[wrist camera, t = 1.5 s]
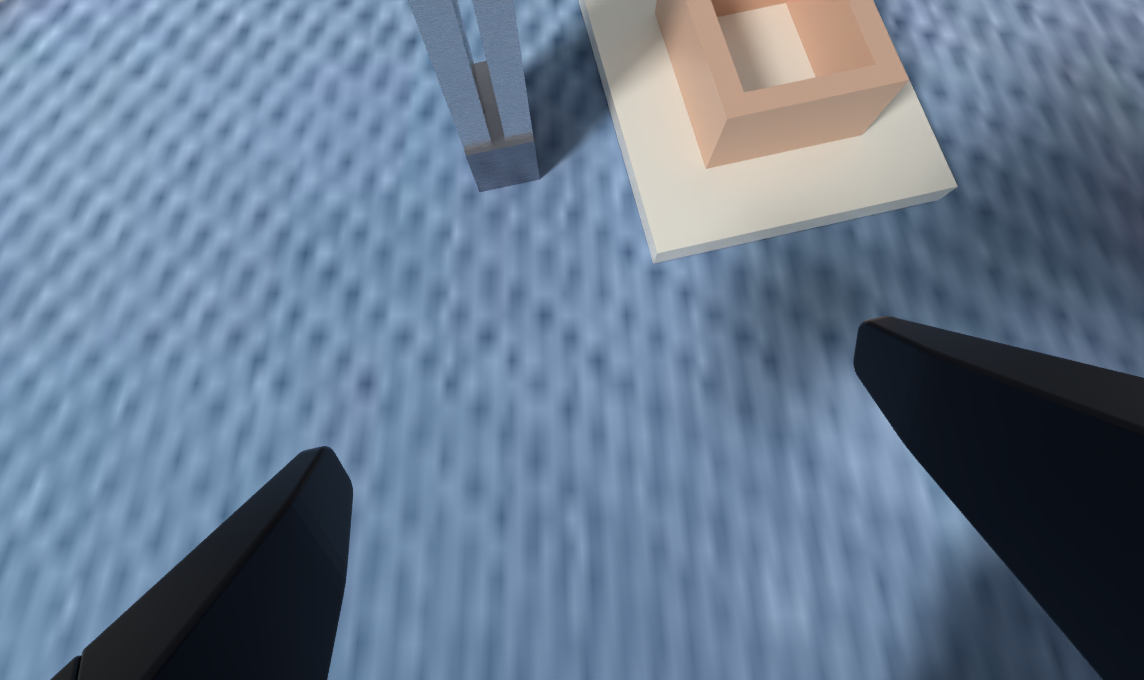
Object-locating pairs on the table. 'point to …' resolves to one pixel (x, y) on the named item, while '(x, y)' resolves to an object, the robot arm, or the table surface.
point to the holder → (760, 117)
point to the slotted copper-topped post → (483, 88)
